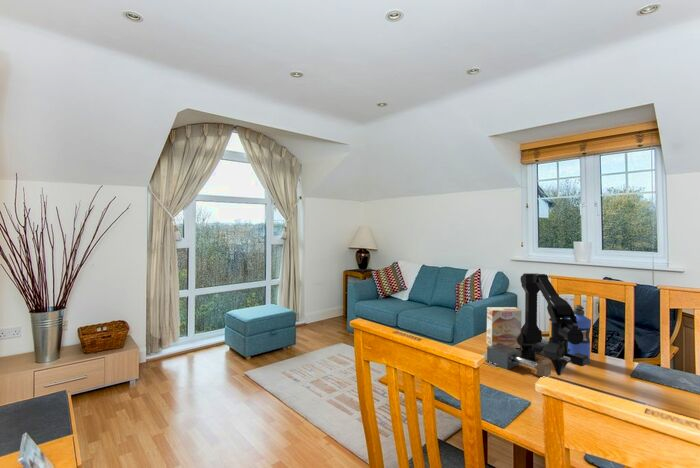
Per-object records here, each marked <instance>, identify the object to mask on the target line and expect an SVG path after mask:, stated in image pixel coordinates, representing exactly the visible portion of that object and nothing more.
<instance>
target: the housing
mask: <svg viewBox="0 0 700 468" xmlns="http://www.w3.org/2000/svg"><path fill="white" fill-rule="evenodd" d="M520 352H521V349H516V348H513V347H509V346H506V345H503V344H500V343H499V344H495V345H492V346H487V347H486V363H489V362H488V361H490V362H492V363H496V364H497V366H496V367H499V368H501V369H505V370H507V371H508V370H510V369H513V368H515V367H518V366H520V365H521V364H520V363H517V362H515V361H512V360H511V355H514V356H517V357H520V356H521V353H520Z"/></svg>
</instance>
